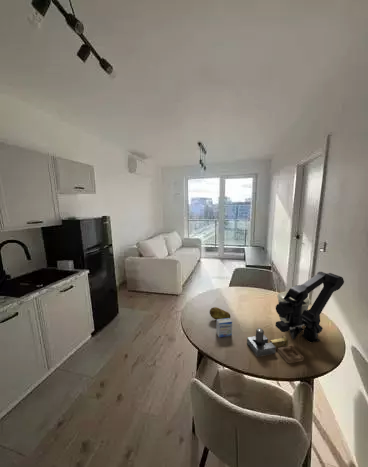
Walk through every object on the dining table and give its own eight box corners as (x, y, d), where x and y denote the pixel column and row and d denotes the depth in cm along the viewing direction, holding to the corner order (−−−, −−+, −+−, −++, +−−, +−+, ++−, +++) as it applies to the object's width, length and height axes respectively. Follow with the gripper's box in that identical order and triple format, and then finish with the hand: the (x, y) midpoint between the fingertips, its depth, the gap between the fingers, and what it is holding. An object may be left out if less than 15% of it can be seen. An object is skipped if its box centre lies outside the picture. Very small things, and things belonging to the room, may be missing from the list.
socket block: (263, 340, 115) (264, 334, 115) (275, 353, 106) (275, 347, 105) (247, 343, 113) (247, 337, 113) (257, 356, 104) (257, 350, 103)
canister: (313, 333, 121) (316, 299, 117) (279, 330, 124) (281, 296, 121) (302, 316, 138) (305, 286, 135) (272, 313, 142) (274, 284, 138)
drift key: (284, 341, 114) (284, 335, 113) (288, 345, 111) (288, 339, 110) (269, 344, 112) (269, 338, 112) (272, 348, 109) (273, 342, 108)
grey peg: (260, 345, 111) (261, 327, 110) (264, 350, 108) (265, 331, 106) (253, 346, 111) (254, 328, 109) (257, 351, 107) (258, 332, 105)
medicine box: (218, 337, 118) (219, 323, 117) (216, 332, 122) (216, 319, 121) (232, 335, 120) (232, 321, 118) (228, 331, 124) (229, 317, 123)
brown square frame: (291, 349, 109) (291, 345, 108) (303, 360, 101) (303, 356, 101) (277, 351, 107) (277, 348, 107) (288, 363, 99) (288, 359, 99)
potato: (229, 325, 129) (229, 313, 128) (208, 321, 133) (208, 310, 132) (230, 318, 137) (231, 306, 136) (211, 315, 141) (211, 303, 140)
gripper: (299, 302, 120) (297, 327, 123) (270, 306, 116) (268, 332, 119) (315, 312, 109) (312, 340, 112) (283, 317, 105) (281, 345, 108)
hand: (293, 338), depth 113 cm, fingers closed
